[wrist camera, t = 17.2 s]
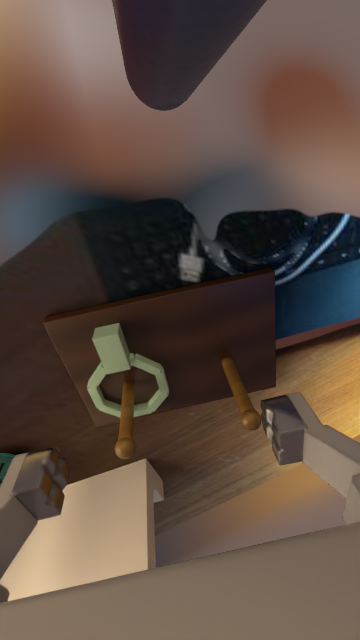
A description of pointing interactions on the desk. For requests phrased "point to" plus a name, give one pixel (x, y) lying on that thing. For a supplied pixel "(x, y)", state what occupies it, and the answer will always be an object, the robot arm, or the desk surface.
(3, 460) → the beverage bottle
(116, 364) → the hanging tag
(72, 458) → the desk surface
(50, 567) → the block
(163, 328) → the peg rack
